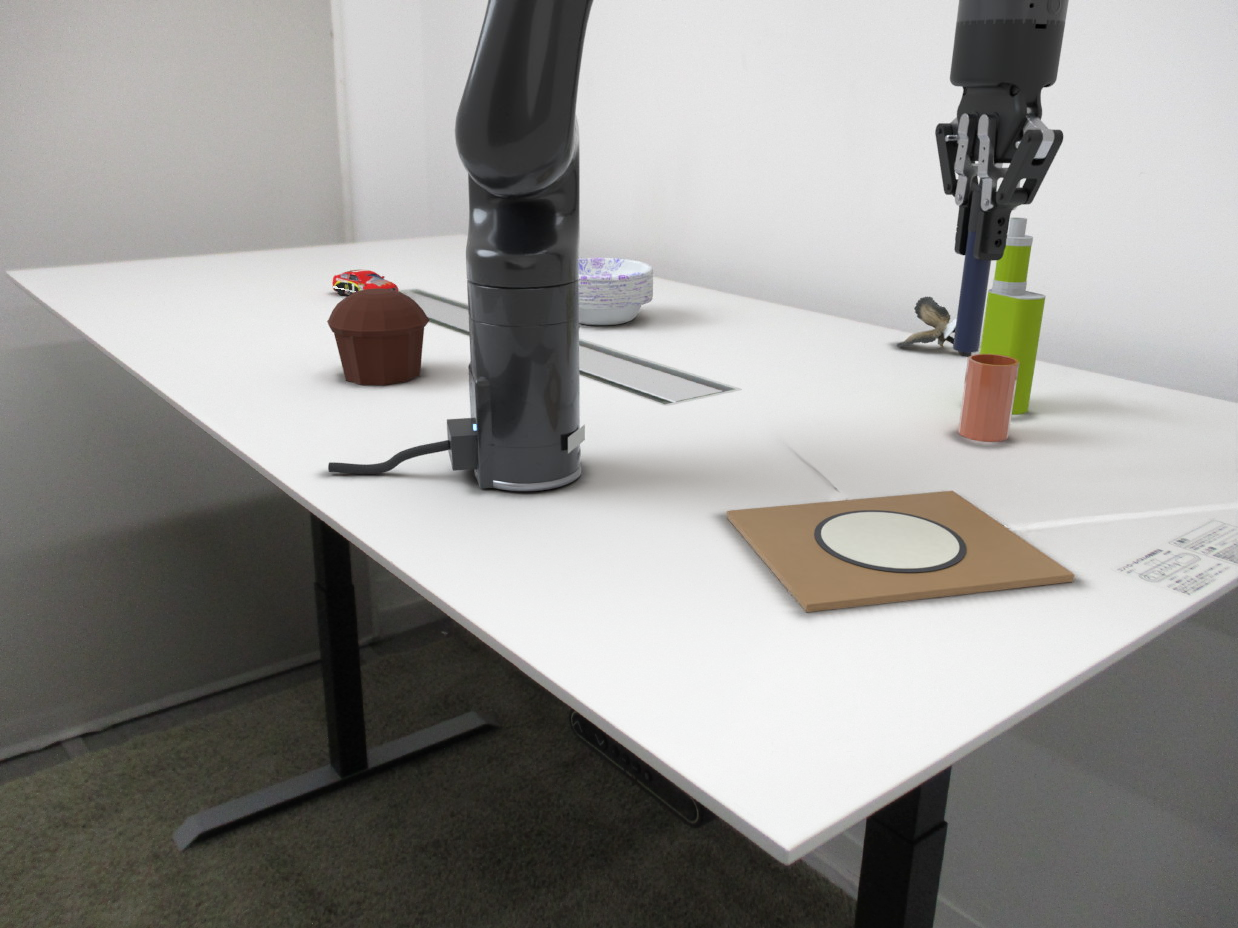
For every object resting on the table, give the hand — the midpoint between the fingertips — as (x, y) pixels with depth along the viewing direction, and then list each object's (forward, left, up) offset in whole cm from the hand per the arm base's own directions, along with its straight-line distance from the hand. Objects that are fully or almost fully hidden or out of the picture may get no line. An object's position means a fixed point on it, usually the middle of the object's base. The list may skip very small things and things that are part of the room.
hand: (978, 256), depth 80 cm
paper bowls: (-15, +72, -20) cm, 77 cm away
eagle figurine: (+24, +45, -20) cm, 55 cm away
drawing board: (-11, -10, -20) cm, 24 cm away
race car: (-48, +97, -20) cm, 111 cm away
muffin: (-47, +47, -20) cm, 69 cm away
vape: (+17, +19, -20) cm, 33 cm away
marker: (0, 0, -8) cm, 8 cm away
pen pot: (+10, +11, -20) cm, 25 cm away
